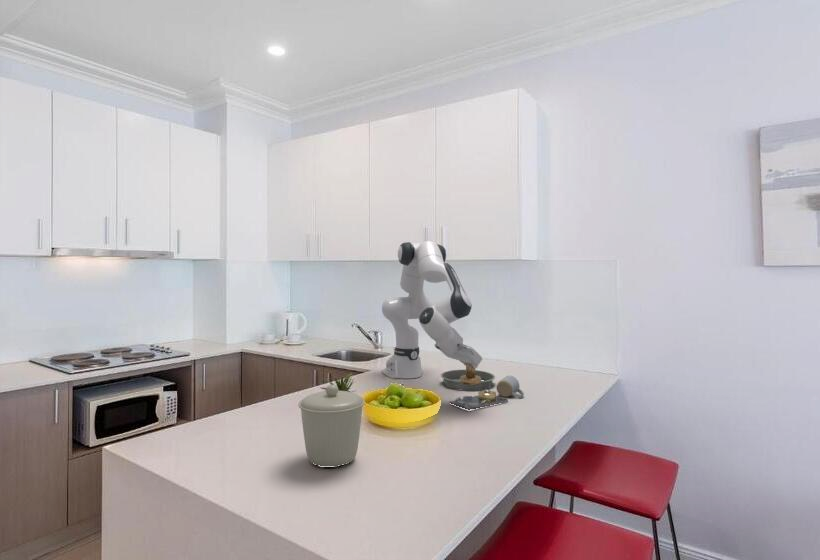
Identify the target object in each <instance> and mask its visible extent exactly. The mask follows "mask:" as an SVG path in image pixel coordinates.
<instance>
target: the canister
mask: <svg viewBox="0 0 820 560" xmlns="http://www.w3.org/2000/svg"><path fill="white" fill-rule="evenodd" d="M325 388H326V389H324V390H322V391H317V392H314V393H311V394H309V395H307V396H305V397H304V398H303V399H302V398H301V400H299V401H298V408H299V409H300V413H301V414H300V415H301V421H302V422H301V423H302V431H303V439H304V445H305V451H306V452H305V453H306V456H307V459H308V461H309V462H310V463H311V464H312V463H314V464H316V465H320V466H338V465H342V464H346V463H348V462H350V461H351V462H353V461H354V460H355V458H356V456H357V453H358V448H359V442H360V441H359V440H360V433H361V426H362V425H361V423H362V415H363V413H362V412H363V406H364V405H365V403H366V400H365V398H364V397H362V396H360V395H358V394H357V393H355V392H352V391H351V392H348V391H349V390H348V391H338V387H337V385H336V384H334V385H331V384H328V385H327V386H326V387H325ZM351 462H350V463H351Z"/></svg>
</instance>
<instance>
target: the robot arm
mask: <svg viewBox="0 0 820 560" xmlns="http://www.w3.org/2000/svg"><path fill="white" fill-rule="evenodd" d="M397 259H398V261H399V263H400V265H402V270H401V277H400V283H399V285H400V288H401V289H402V290H403V291H404V292H405V293H407V294H408V296H401V297H399V296H398V297H391V298H387V299H385V300H383V302H382V304H381V313H382V314H383V316H384V318H386V319H387V320H388V321H389V322H390V323H391V324H392V326H393V328H394V332H395V347H394V348H393V351H394V352H393V354H392V356H391V357H389V358H388V359H387V360H386V363H385V364H386V366H385V368H384V369H382V370H381V373H382V374H383V375H385V376H387V377H389V378H392V379H404V380H405V379H417V378H420V377H422V375H423V373H424V372H423V370H422V363H421V360H422V359H421V357H420V356H419V355H420V346H419V331H418V330H417V329H416V328H415V327H413V326H411V325H410V324H409V320H417V319H418V322H419V324H420V326H421V328H422V329H423V330H424V332H425V333H426V334H427V335H428V336H429V338H430V339H431V340H433V341H435V344H434V348H436V350H437V349H438V350H439V351H440V352H441V353H442V354H443V355H444V356H446V357H448V358H449V359H452V360H456V361H459V362H460V363H462V364H463V365H464V366H465V367H466V363H469V364H471V366H472V368H474V369H475V370H477V368H479V365H480V363H481V362H482V360H483V357H482V356H481V354H480V353H479V352H478V351H477V350H475V348H473V347H472V345H471V346H470V345H467V344H463V343H464V339H463V337H462V336H461V335H460V333H459V332H458V331H457V330H456V329H455V328H454V327H453V326H451V323H454V322H455V321H457V320H460V319H462V318H465V317H468V316H469V315H470V312H471V310H472V307H473V306H472V302H471V300H470V298H469V296H468V295H467V293H466V291H465V289H464V287H463V285H462V283H461V281H460V279H459V276H458V275H457V272H456V271H455V270H454V268H453V266H451V265H450V264H449V263H448V262H446V259H447V251H446V248H445V247H444V246H443V245H441V244H438V243H436V242H434V241H432V240H425V241H423V242H410V241H408V242H406V241H405V242H402V243H401V244H400V245H399V248H398V250H397ZM424 281H426V282H427V283H433V284H436V283H442V282H446V283H447V284H448V287H449V290H450V293H449V294H448V295H447V296H446V297H443V298H442V299H440V300H438V301H436V302H434V303H433V304H432V302H431V300H430V299H429V298H428V297H427V296H426V295H425V292H424V284H425V283H424Z"/></svg>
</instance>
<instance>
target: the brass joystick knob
mask: <svg viewBox="0 0 820 560" xmlns="http://www.w3.org/2000/svg"><path fill="white" fill-rule="evenodd" d="M465 370H466V375H462V376H460V383H462V384H466V385H477V384H480V383H481V377H480V376H477V375H475V370H476V369H474V368H472V366H471V364H469V363H466V366H465Z"/></svg>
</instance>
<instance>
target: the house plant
mask: <svg viewBox="0 0 820 560" xmlns="http://www.w3.org/2000/svg"><path fill="white" fill-rule="evenodd" d="M352 374H353V372H352V373H349V374H348V375H346V376H344V374H342V376H341V378H339V377H337V376H336V375H334V374H333V373H331V375H332V377H333V379H334V381H335V384H334V383H333V382H332V381H331V380H328V379H326V378H323V381H325V382H326V383H329V385H336V386H337V387H338V391H348V392H352V393H355V390H353V391H351V387H352V386H353V384H354V383H355V382H356V380H355V381H354V379H355V378H353V376H352ZM352 378H353V379H352ZM320 389H322V390H325V389H326V387H320Z"/></svg>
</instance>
